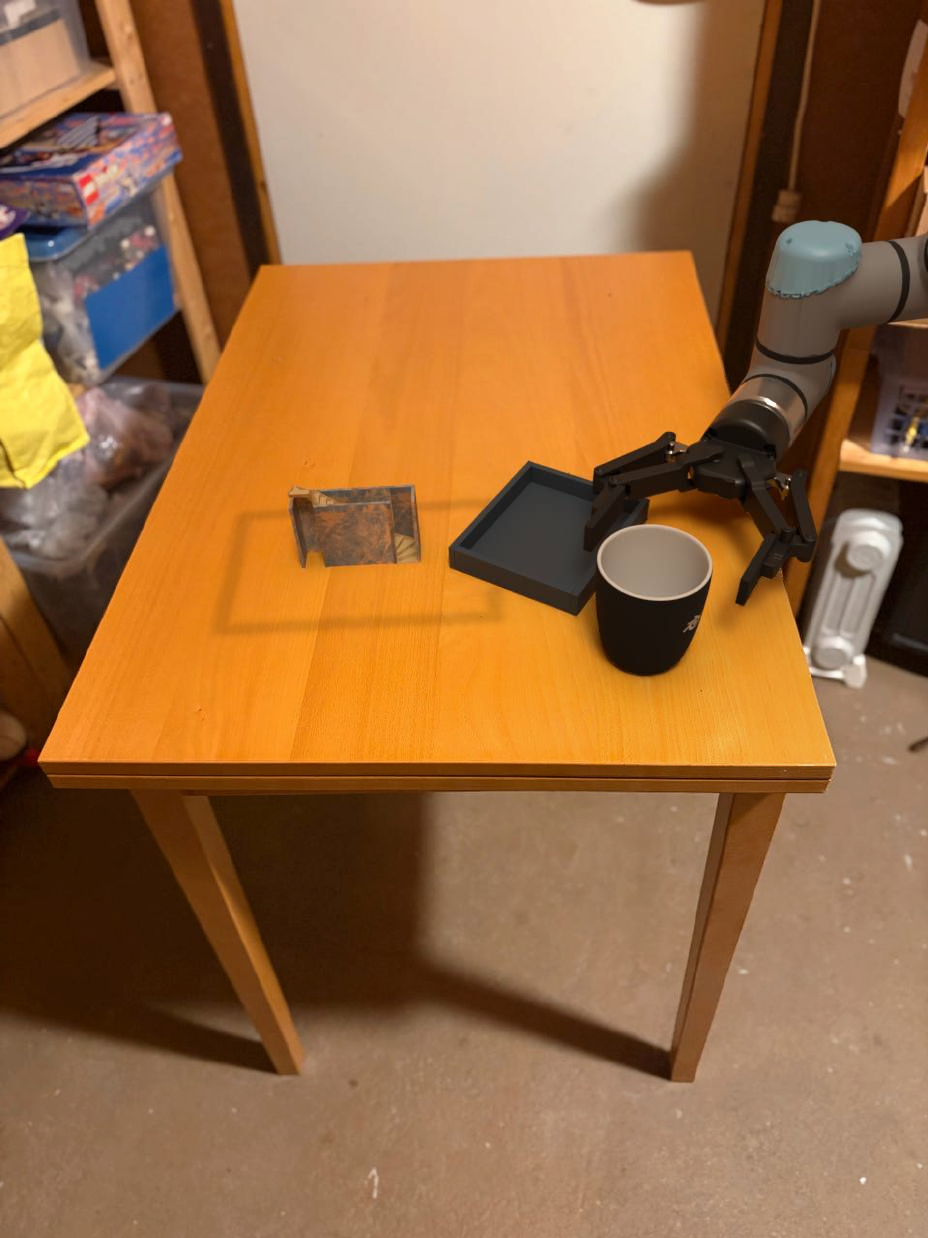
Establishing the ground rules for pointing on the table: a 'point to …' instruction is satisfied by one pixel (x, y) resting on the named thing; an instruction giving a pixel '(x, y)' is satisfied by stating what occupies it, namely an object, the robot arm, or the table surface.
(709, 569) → the mug
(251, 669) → the table surface
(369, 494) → the architectural model on board
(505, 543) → the tray
